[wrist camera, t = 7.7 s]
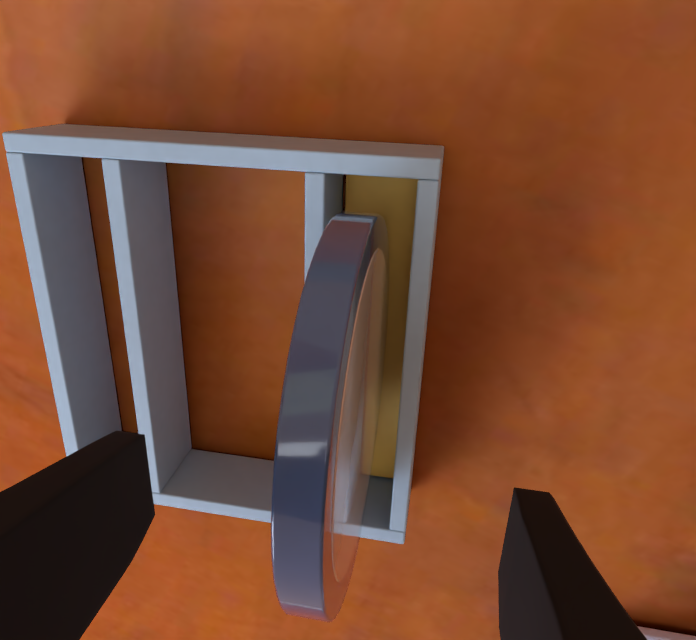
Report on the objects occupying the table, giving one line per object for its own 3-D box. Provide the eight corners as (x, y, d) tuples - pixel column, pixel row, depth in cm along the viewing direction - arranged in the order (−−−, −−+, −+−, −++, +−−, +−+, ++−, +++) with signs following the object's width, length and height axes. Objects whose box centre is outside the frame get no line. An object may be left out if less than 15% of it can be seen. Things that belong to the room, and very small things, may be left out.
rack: (410, 491, 20) (404, 545, 18) (112, 447, 22) (72, 491, 20) (444, 145, 15) (441, 158, 13) (61, 123, 17) (0, 132, 15)
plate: (377, 464, 19) (316, 733, 11) (350, 461, 19) (268, 722, 11) (398, 190, 16) (335, 271, 8) (365, 187, 16) (268, 264, 8)
